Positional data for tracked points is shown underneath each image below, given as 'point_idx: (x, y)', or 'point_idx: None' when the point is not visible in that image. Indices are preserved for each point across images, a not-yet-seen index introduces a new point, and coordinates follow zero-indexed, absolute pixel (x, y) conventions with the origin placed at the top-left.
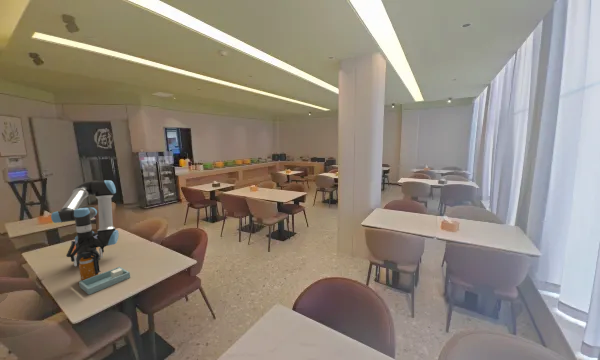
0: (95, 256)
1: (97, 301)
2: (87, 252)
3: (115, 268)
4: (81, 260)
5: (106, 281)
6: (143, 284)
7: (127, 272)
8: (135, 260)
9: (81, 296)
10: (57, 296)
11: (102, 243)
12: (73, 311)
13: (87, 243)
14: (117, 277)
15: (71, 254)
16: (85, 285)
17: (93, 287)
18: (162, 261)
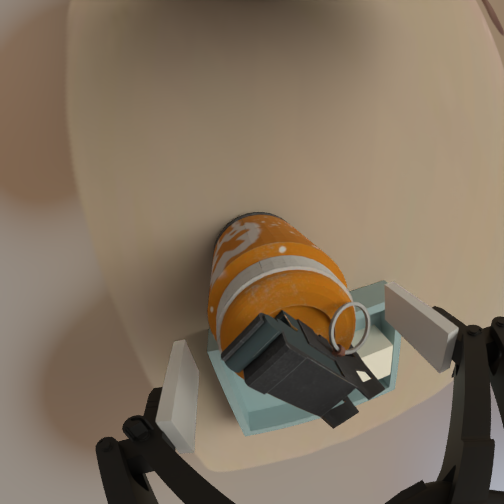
0: (352, 405)
1: (261, 447)
2: (325, 387)
3: (384, 306)
4: (238, 374)
5: (310, 419)
6: (378, 423)
7: (390, 385)
8: (457, 172)
9: (218, 401)
10: (129, 336)
11: (497, 392)
12: (204, 453)
13: None
14: None
15: (145, 453)
16: (236, 408)
17: (262, 431)
18: (487, 289)
